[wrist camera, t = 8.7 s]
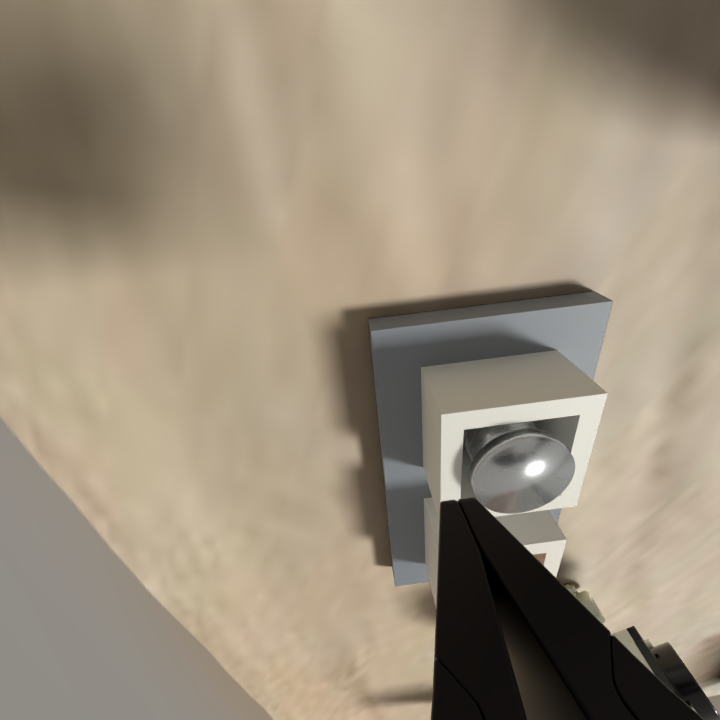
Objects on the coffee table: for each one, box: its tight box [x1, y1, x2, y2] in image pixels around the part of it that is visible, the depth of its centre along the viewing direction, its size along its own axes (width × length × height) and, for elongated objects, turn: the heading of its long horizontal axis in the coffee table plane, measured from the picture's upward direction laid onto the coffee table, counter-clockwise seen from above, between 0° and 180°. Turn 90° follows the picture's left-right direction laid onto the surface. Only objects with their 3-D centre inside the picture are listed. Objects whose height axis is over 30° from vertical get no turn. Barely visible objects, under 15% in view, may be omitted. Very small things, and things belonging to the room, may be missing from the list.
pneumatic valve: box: [564, 584, 720, 720], centre depth 29 cm, size 6×12×12 cm, turn 126°
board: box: [368, 291, 613, 607], centre depth 22 cm, size 12×22×6 cm, turn 6°
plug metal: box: [463, 421, 575, 514], centre depth 19 cm, size 5×5×5 cm
